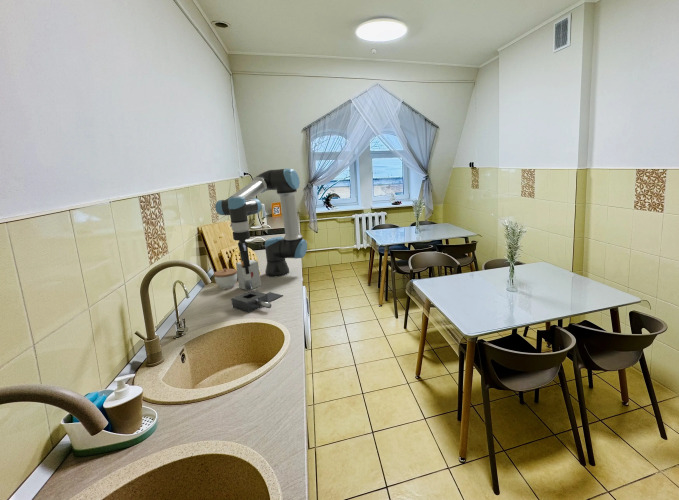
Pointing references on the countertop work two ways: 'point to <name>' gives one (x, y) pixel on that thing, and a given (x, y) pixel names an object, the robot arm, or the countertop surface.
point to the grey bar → (249, 282)
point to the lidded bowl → (226, 278)
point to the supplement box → (254, 274)
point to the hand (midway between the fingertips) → (247, 278)
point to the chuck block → (250, 301)
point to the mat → (273, 296)
